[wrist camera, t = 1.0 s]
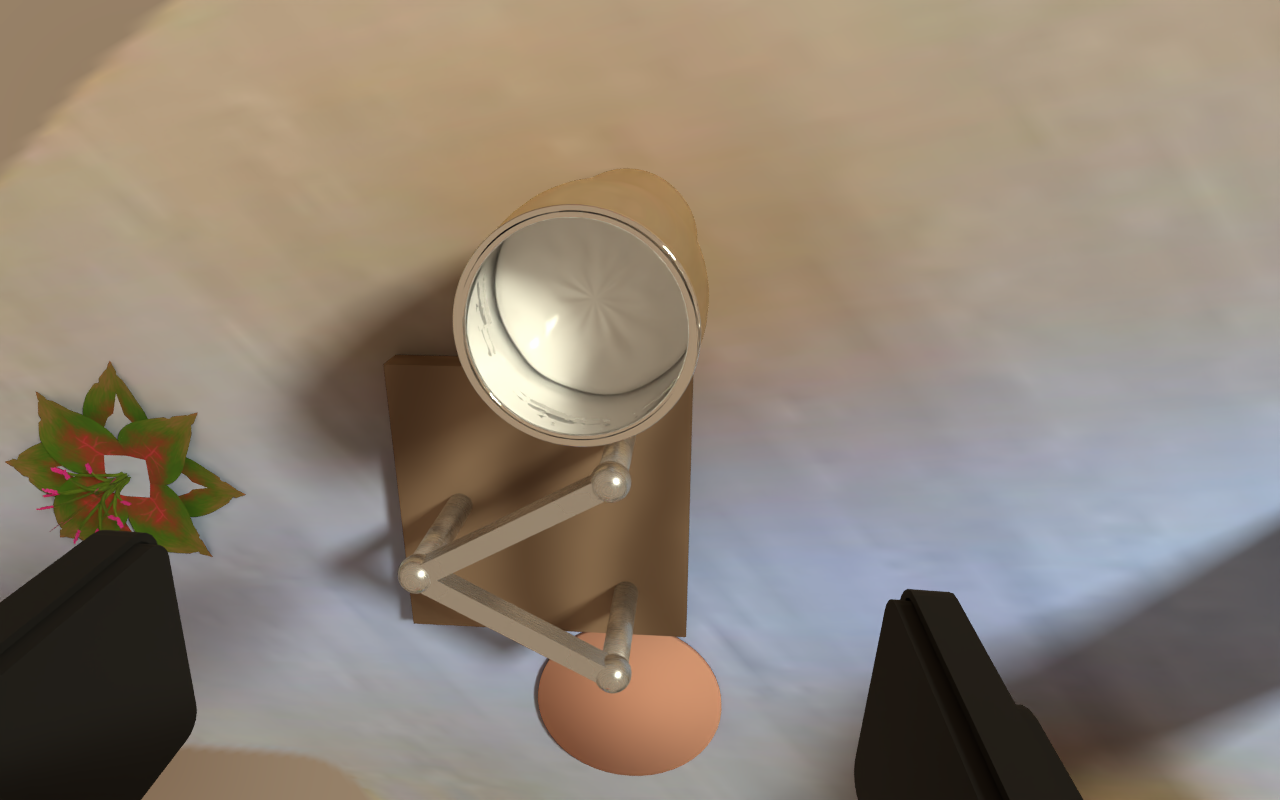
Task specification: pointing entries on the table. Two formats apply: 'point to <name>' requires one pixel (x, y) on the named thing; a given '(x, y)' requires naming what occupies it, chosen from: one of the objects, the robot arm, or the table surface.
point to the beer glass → (585, 309)
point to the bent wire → (447, 555)
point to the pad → (635, 708)
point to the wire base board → (525, 472)
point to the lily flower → (90, 493)
